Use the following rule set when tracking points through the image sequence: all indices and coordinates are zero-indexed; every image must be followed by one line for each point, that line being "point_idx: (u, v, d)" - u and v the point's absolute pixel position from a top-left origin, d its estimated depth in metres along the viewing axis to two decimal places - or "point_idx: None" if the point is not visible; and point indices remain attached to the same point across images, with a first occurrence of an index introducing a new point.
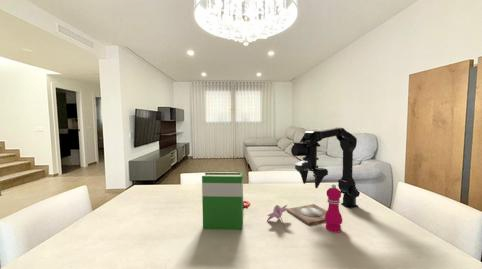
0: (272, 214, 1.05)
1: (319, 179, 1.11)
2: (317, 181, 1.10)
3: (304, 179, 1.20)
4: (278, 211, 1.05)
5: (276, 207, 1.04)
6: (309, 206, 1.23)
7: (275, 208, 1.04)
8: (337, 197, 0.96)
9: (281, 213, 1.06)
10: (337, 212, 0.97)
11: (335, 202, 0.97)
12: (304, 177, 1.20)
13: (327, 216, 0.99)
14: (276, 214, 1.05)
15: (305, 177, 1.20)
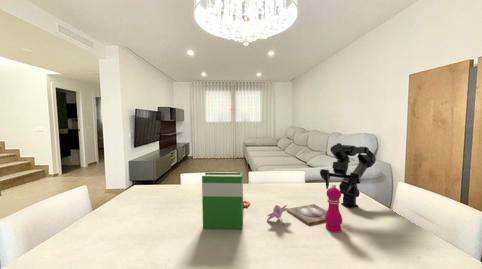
0: (272, 214, 1.05)
1: (351, 185, 1.11)
2: (350, 185, 1.09)
3: (327, 185, 1.15)
4: (278, 211, 1.05)
5: (276, 207, 1.04)
6: (309, 206, 1.23)
7: (275, 208, 1.04)
8: (337, 197, 0.96)
9: (281, 213, 1.06)
10: (337, 212, 0.97)
11: (335, 202, 0.97)
12: (327, 183, 1.16)
13: (327, 216, 0.99)
14: (276, 214, 1.05)
15: (328, 184, 1.16)
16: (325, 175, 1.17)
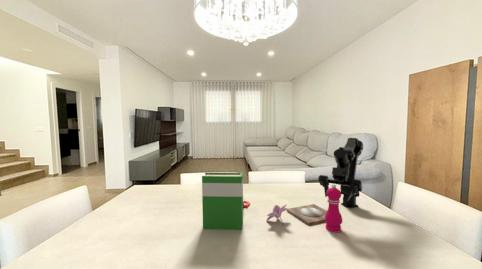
0: (271, 214, 1.05)
1: (351, 193, 1.02)
2: (351, 193, 1.01)
3: (326, 192, 1.06)
4: (277, 211, 1.05)
5: (276, 206, 1.04)
6: (309, 206, 1.23)
7: (274, 208, 1.04)
8: (337, 197, 0.96)
9: (280, 213, 1.06)
10: (337, 212, 0.97)
11: (335, 202, 0.97)
12: (326, 191, 1.07)
13: (327, 216, 0.99)
14: (275, 214, 1.05)
15: None
16: (324, 182, 1.08)
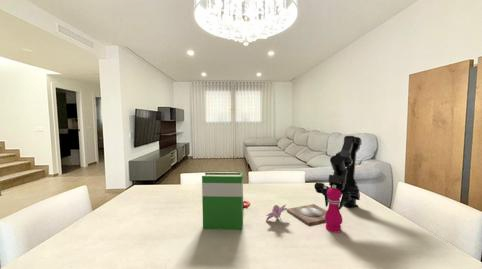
0: (271, 214, 1.05)
1: (344, 200, 0.99)
2: (343, 201, 0.98)
3: (327, 201, 1.01)
4: (277, 211, 1.05)
5: (275, 206, 1.04)
6: (309, 206, 1.23)
7: (274, 208, 1.04)
8: (337, 197, 0.96)
9: (280, 213, 1.06)
10: (337, 212, 0.97)
11: (335, 202, 0.97)
12: (327, 200, 1.02)
13: (327, 216, 0.99)
14: (275, 214, 1.05)
15: (327, 200, 1.02)
16: (324, 190, 1.03)
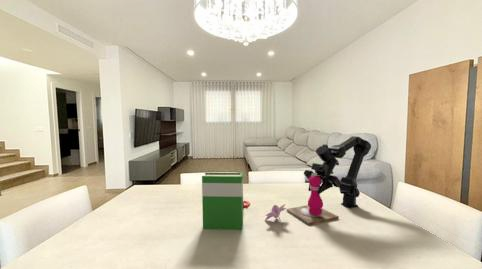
0: (270, 214, 1.05)
1: (325, 187, 1.08)
2: (323, 187, 1.08)
3: None
4: (276, 211, 1.06)
5: (274, 206, 1.04)
6: None
7: (273, 208, 1.04)
8: (315, 184, 1.07)
9: (279, 213, 1.06)
10: (316, 197, 1.08)
11: (314, 188, 1.08)
12: None
13: (308, 200, 1.11)
14: (274, 214, 1.05)
15: None
16: None
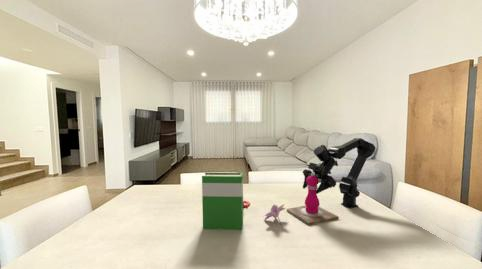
0: (269, 214, 1.05)
1: (323, 187, 1.10)
2: (321, 187, 1.09)
3: (305, 184, 1.18)
4: (275, 211, 1.06)
5: (274, 206, 1.04)
6: None
7: (272, 208, 1.04)
8: (312, 183, 1.12)
9: (278, 212, 1.06)
10: (313, 196, 1.13)
11: (311, 187, 1.12)
12: (306, 183, 1.19)
13: (305, 199, 1.15)
14: (273, 214, 1.06)
15: (307, 184, 1.19)
16: (305, 175, 1.20)
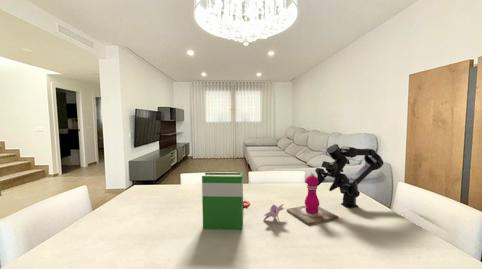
0: (269, 213, 1.05)
1: (337, 184, 1.14)
2: (334, 184, 1.13)
3: (318, 182, 1.22)
4: (275, 210, 1.06)
5: (273, 206, 1.04)
6: None
7: (272, 207, 1.05)
8: (312, 183, 1.12)
9: (277, 212, 1.07)
10: (313, 197, 1.12)
11: (310, 188, 1.12)
12: (319, 181, 1.23)
13: (305, 199, 1.15)
14: (273, 213, 1.06)
15: (320, 182, 1.23)
16: (318, 173, 1.24)
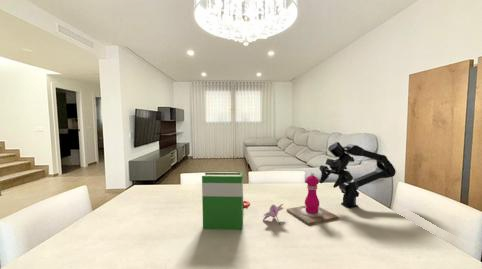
0: (268, 213, 1.06)
1: (340, 181, 1.17)
2: (338, 181, 1.16)
3: (322, 179, 1.25)
4: (274, 210, 1.06)
5: (272, 206, 1.04)
6: None
7: (271, 207, 1.05)
8: (312, 183, 1.12)
9: (277, 212, 1.07)
10: (313, 197, 1.12)
11: (311, 188, 1.12)
12: (323, 178, 1.26)
13: (305, 199, 1.15)
14: (272, 213, 1.06)
15: (324, 179, 1.26)
16: (322, 171, 1.27)
